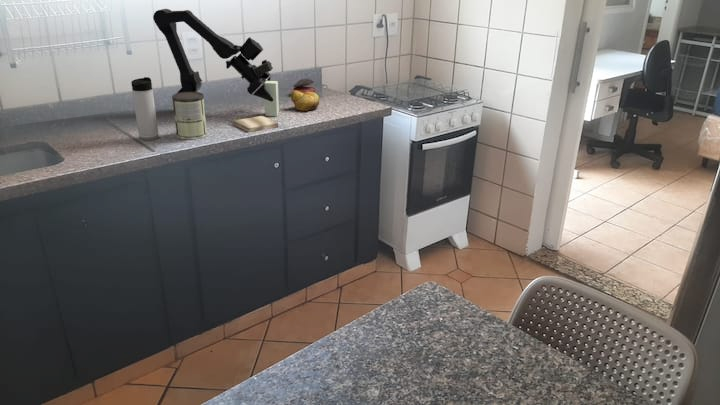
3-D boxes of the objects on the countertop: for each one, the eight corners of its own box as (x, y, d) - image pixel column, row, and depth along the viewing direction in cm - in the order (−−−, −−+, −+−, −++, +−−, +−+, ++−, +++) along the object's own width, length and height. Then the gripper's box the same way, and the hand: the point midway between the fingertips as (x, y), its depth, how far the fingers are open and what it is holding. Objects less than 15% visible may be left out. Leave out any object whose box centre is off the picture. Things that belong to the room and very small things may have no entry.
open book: (249, 132, 194) (249, 128, 194) (233, 124, 203) (233, 120, 202) (278, 126, 201) (278, 123, 201) (261, 119, 210) (261, 115, 209)
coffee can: (171, 134, 189) (166, 94, 184) (197, 129, 196) (194, 90, 190) (185, 141, 183) (181, 100, 177) (212, 135, 189) (209, 95, 184)
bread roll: (312, 104, 234) (312, 85, 231) (327, 108, 228) (327, 89, 225) (288, 109, 226) (288, 89, 223) (303, 113, 220) (303, 94, 217)
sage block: (265, 116, 215) (264, 83, 209) (267, 113, 219) (266, 80, 213) (276, 116, 215) (275, 83, 209) (278, 113, 219) (277, 81, 213)
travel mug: (163, 136, 187) (155, 78, 179) (150, 141, 181) (142, 81, 173) (148, 134, 189) (140, 76, 181) (135, 139, 183) (126, 79, 175)
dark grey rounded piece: (296, 106, 248) (285, 87, 244) (301, 99, 256) (291, 80, 253) (317, 97, 244) (306, 77, 240) (322, 90, 252) (311, 70, 249)
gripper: (254, 58, 199) (285, 89, 203) (264, 50, 216) (292, 79, 220) (234, 79, 202) (265, 109, 206) (245, 69, 219) (273, 97, 223)
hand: (274, 98), depth 214 cm, fingers open, 9 cm apart
